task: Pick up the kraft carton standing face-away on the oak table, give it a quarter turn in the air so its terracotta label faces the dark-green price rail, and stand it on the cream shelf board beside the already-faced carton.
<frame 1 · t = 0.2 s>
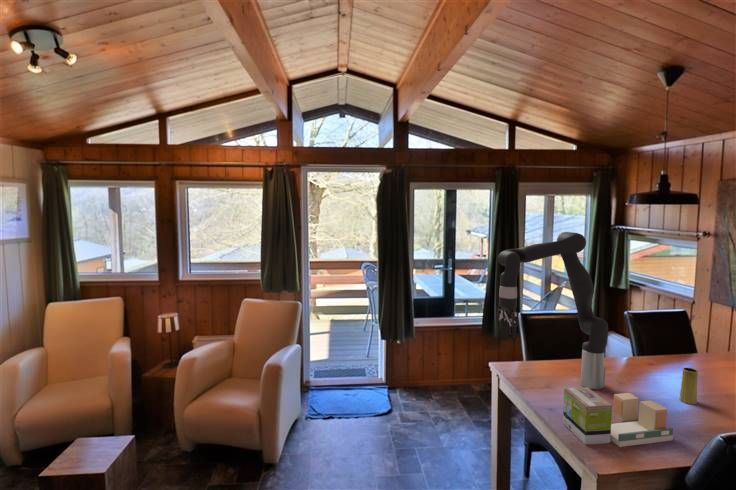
hand: (507, 331, 187), 29 cm above the table, fingers open, 8 cm apart
shelf: (634, 435, 155), on the table
vase: (688, 401, 182), on the table
carton: (624, 417, 168), on the table
faced carton: (651, 428, 156), point 2 cm above the table, touching shelf
tea box: (585, 433, 157), on the table
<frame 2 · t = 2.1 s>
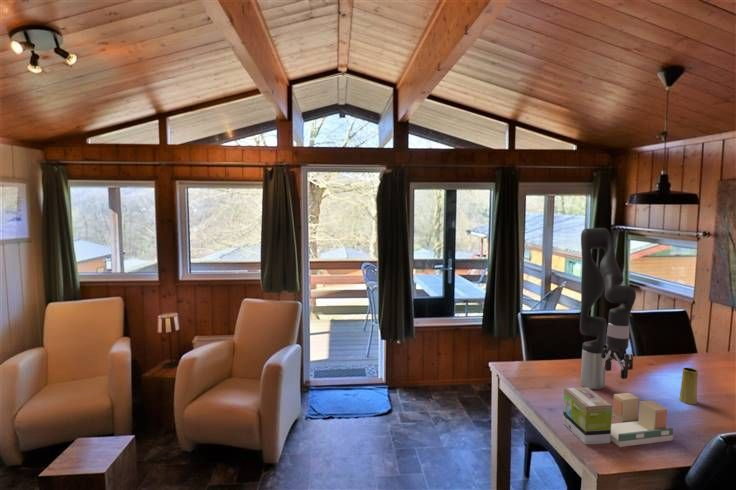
hand: (615, 374, 168), 17 cm above the table, fingers open, 8 cm apart
nothing on the table moved.
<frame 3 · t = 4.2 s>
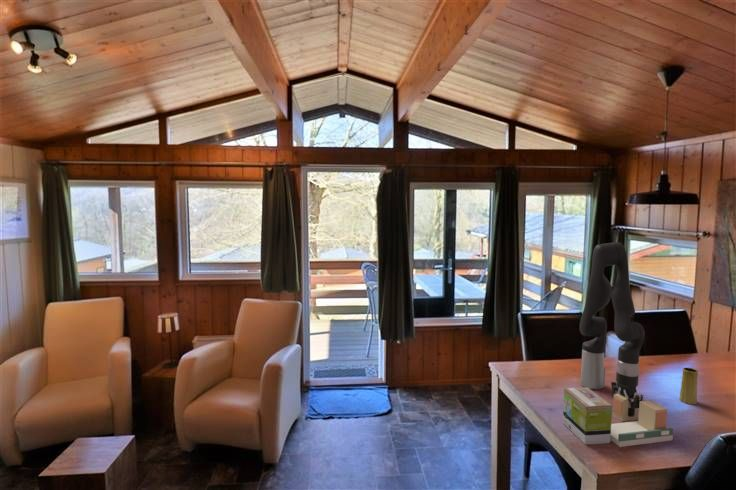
hand: (625, 412, 168), 2 cm above the table, fingers closed on carton, 5 cm apart
carton: (624, 417, 168), on the table, touching gripper
everything else where it was.
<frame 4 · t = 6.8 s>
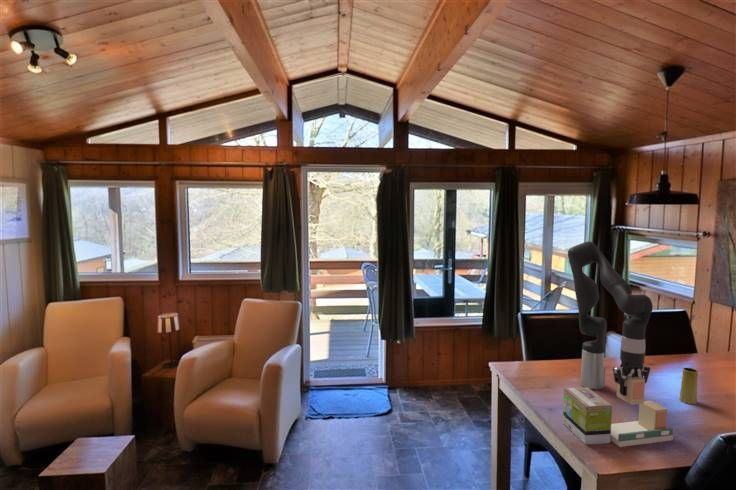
hand: (629, 394, 153), 16 cm above the table, fingers closed on carton, 5 cm apart
carton: (629, 399, 153), point 14 cm above the table, touching gripper
everything else where it was.
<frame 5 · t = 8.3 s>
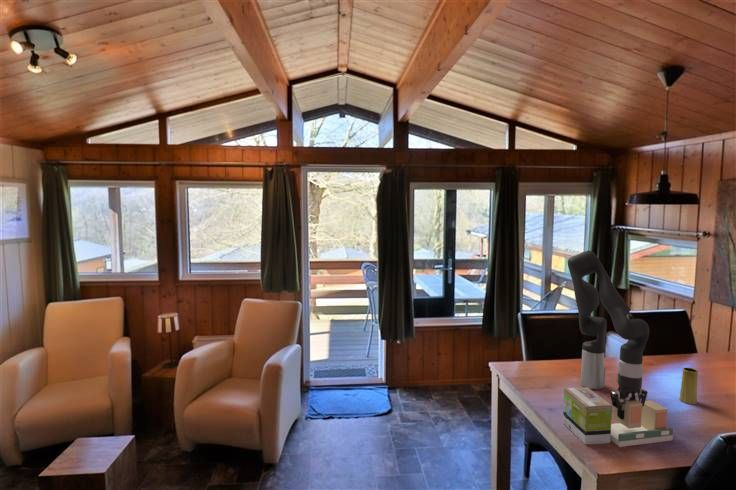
hand: (627, 417, 154), 7 cm above the table, fingers closed on carton, 5 cm apart
carton: (627, 423, 154), point 5 cm above the table, touching gripper
everything else where it was.
when the fingers open (5 cm above the table, at t = 9.2 s): carton stays where it is, resting on shelf.
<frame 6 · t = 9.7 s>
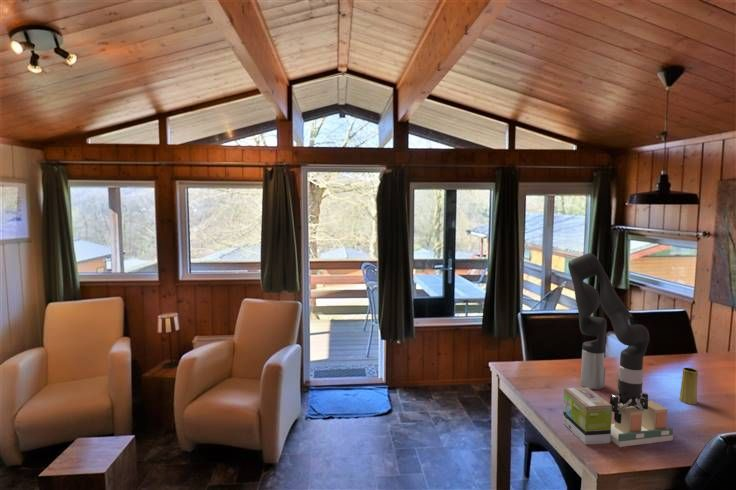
hand: (627, 421, 154), 6 cm above the table, fingers open, 8 cm apart
carton: (627, 430, 154), point 2 cm above the table, touching shelf
everything else where it was.
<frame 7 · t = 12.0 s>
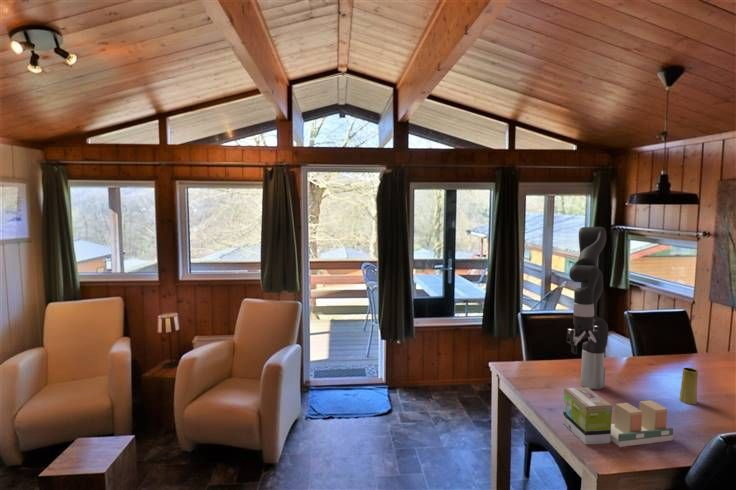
hand: (583, 352, 173), 25 cm above the table, fingers open, 8 cm apart
nothing on the table moved.
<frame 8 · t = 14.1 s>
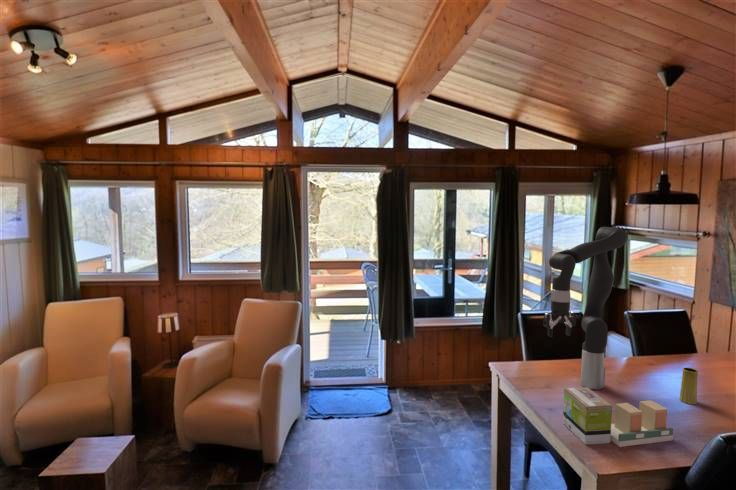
hand: (559, 336, 183), 28 cm above the table, fingers open, 8 cm apart
nothing on the table moved.
at the end: carton inside the target area on the shelf (1.0 cm from its centre), point 2.0 cm above the shelf's base; carton tilted 0°; faced carton moved 0.0 cm from its start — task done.
